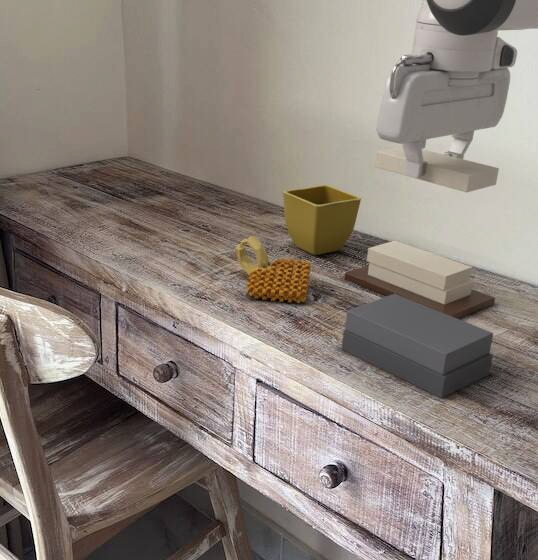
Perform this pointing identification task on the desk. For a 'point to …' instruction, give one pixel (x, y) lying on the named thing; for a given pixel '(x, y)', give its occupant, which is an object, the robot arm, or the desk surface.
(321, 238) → the flower pot
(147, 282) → the desk surface
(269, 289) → the ornament
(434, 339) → the grey stack
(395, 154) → the cream book
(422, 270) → the cream stack
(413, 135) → the robot arm
